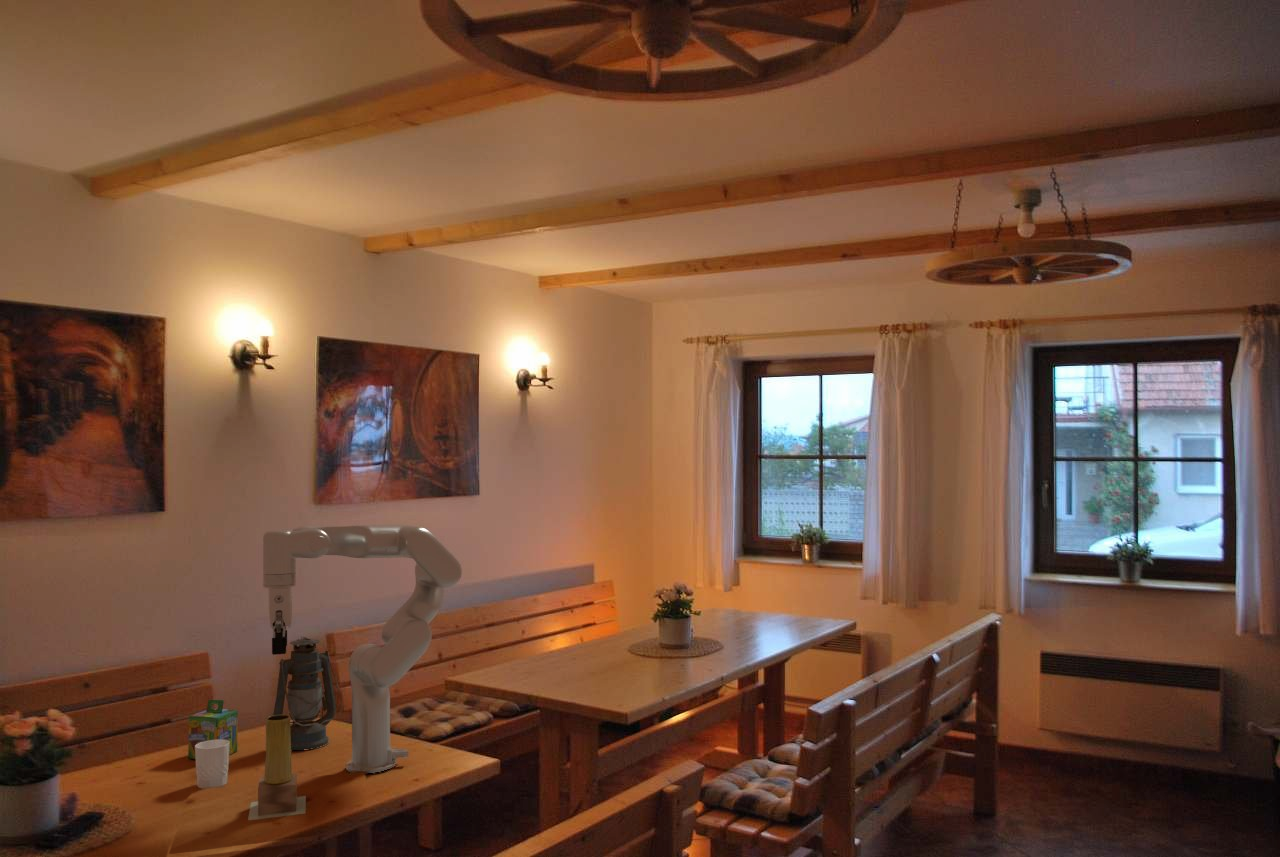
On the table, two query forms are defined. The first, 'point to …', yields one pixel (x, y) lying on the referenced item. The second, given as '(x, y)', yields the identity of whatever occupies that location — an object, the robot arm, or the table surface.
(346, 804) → the table surface
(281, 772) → the vase
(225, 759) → the white cup
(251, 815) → the baseplate
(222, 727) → the chalk box
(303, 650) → the lantern
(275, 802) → the walnut block
